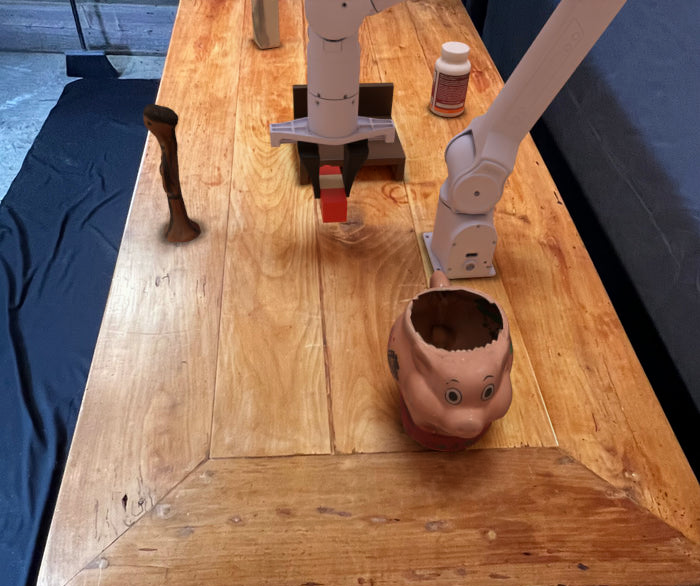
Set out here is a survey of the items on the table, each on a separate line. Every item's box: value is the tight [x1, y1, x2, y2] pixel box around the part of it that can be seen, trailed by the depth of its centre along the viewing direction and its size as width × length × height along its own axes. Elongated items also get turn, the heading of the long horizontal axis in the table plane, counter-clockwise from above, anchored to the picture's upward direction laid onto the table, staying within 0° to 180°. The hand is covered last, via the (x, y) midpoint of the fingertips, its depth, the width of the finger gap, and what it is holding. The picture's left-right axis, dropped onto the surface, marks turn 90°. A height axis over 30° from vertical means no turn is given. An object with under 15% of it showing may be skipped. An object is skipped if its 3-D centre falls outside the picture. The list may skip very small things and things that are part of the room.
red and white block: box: [317, 165, 348, 224], centre depth 80 cm, size 9×3×3 cm, turn 8°
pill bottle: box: [429, 41, 472, 118], centre depth 109 cm, size 6×6×11 cm
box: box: [250, 0, 281, 50], centre depth 125 cm, size 5×4×13 cm
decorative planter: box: [386, 270, 514, 452], centre depth 63 cm, size 20×12×14 cm, turn 10°
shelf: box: [291, 82, 407, 185], centre depth 97 cm, size 14×16×9 cm
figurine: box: [142, 102, 202, 243], centre depth 80 cm, size 7×5×18 cm
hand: (331, 193), depth 79 cm, fingers closed on red and white block, 3 cm apart
